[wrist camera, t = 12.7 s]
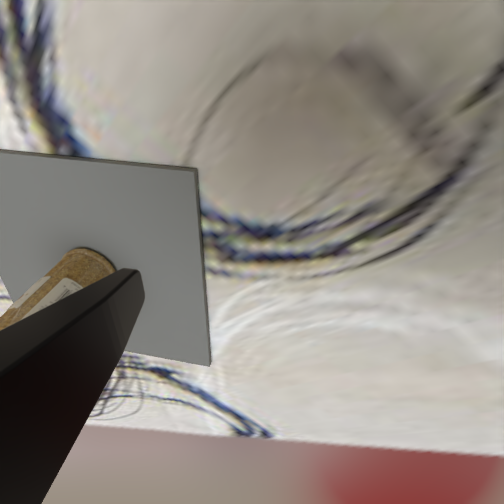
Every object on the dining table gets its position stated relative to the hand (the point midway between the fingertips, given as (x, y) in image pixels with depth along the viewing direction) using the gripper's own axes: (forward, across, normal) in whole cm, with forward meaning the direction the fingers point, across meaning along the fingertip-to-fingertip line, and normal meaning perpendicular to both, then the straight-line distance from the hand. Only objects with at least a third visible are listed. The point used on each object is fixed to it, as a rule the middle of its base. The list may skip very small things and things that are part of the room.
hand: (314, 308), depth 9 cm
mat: (+13, +17, +11) cm, 24 cm away
